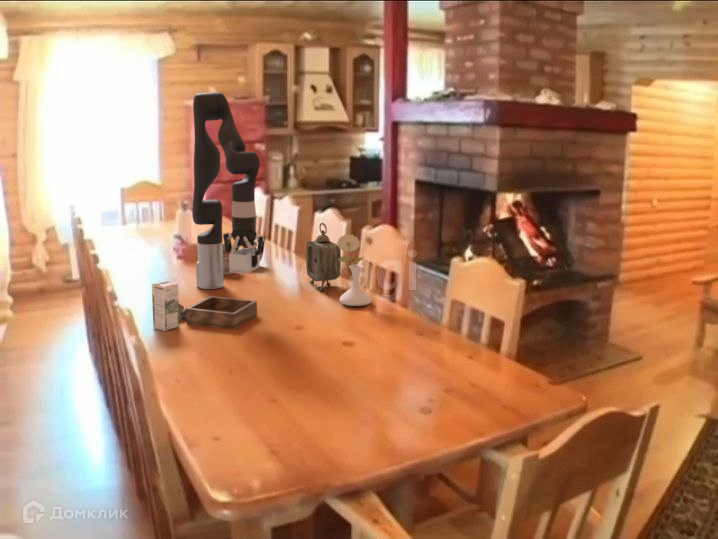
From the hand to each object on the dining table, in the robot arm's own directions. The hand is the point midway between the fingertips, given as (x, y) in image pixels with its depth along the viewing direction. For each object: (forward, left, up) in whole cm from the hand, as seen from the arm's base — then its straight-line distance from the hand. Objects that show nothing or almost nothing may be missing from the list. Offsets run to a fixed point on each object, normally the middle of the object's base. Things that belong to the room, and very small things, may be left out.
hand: (244, 265), depth 239 cm
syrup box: (-18, -19, -18) cm, 32 cm away
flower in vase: (+28, +28, -18) cm, 43 cm away
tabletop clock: (+10, +46, -18) cm, 50 cm away
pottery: (-33, +60, -18) cm, 71 cm away
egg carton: (-21, -9, -18) cm, 29 cm away
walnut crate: (-6, -5, -17) cm, 19 cm away
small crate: (0, 0, -1) cm, 1 cm away
